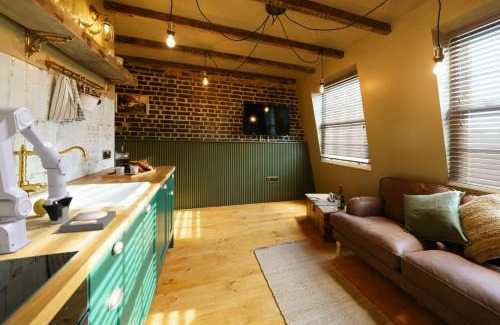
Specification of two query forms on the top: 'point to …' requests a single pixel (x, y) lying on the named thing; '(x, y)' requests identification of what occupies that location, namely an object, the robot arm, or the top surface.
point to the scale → (88, 221)
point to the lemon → (39, 207)
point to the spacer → (61, 215)
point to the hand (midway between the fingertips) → (59, 217)
